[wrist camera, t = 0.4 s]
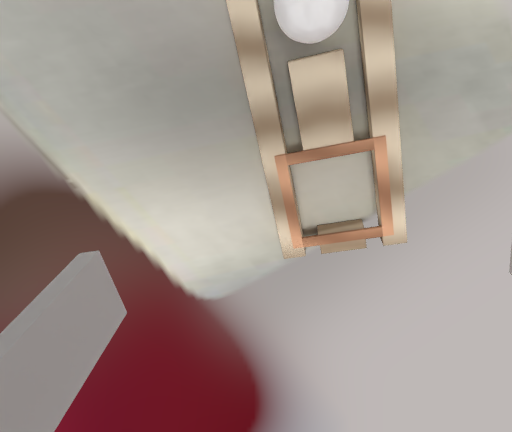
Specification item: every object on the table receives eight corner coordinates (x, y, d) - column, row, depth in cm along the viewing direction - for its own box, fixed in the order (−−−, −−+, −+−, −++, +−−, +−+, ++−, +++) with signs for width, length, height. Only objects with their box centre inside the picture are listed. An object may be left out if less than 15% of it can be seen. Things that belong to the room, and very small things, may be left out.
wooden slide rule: (216, -63, 29) (209, -70, 27) (377, -113, 27) (383, -125, 25) (284, 248, 40) (284, 260, 38) (402, 232, 38) (408, 244, 36)
